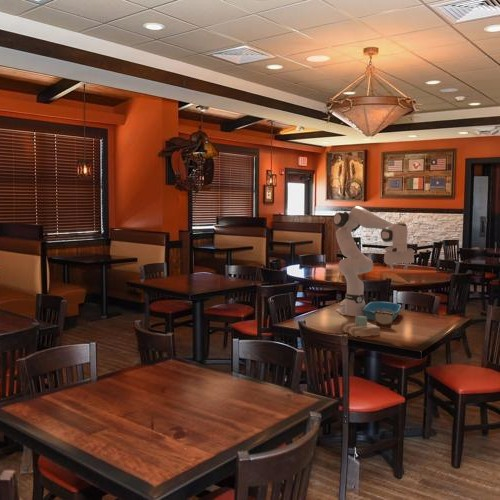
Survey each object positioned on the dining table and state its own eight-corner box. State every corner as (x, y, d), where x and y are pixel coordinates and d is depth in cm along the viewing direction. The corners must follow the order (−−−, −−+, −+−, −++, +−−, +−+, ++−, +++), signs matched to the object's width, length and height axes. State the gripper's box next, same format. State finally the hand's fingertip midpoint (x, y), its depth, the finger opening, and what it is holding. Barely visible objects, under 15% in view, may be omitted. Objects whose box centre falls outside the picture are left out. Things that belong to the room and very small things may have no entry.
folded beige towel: (341, 331, 333) (342, 322, 332) (365, 329, 338) (365, 321, 337) (355, 337, 318) (355, 329, 317) (379, 335, 323) (379, 327, 322)
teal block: (355, 324, 329) (355, 316, 328) (362, 323, 331) (362, 315, 330) (359, 326, 324) (359, 317, 324) (366, 325, 326) (367, 317, 325)
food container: (396, 327, 342) (396, 311, 341) (393, 329, 337) (393, 312, 336) (376, 324, 348) (377, 308, 347) (373, 326, 343) (374, 310, 342)
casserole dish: (395, 324, 350) (396, 313, 349) (360, 321, 358) (360, 310, 357) (402, 313, 384) (403, 303, 383) (370, 310, 392) (370, 300, 391)
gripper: (410, 247, 353) (409, 269, 354) (382, 248, 346) (382, 270, 347) (416, 248, 347) (415, 270, 348) (388, 249, 340) (387, 271, 341)
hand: (398, 270), depth 348 cm, fingers open, 8 cm apart
